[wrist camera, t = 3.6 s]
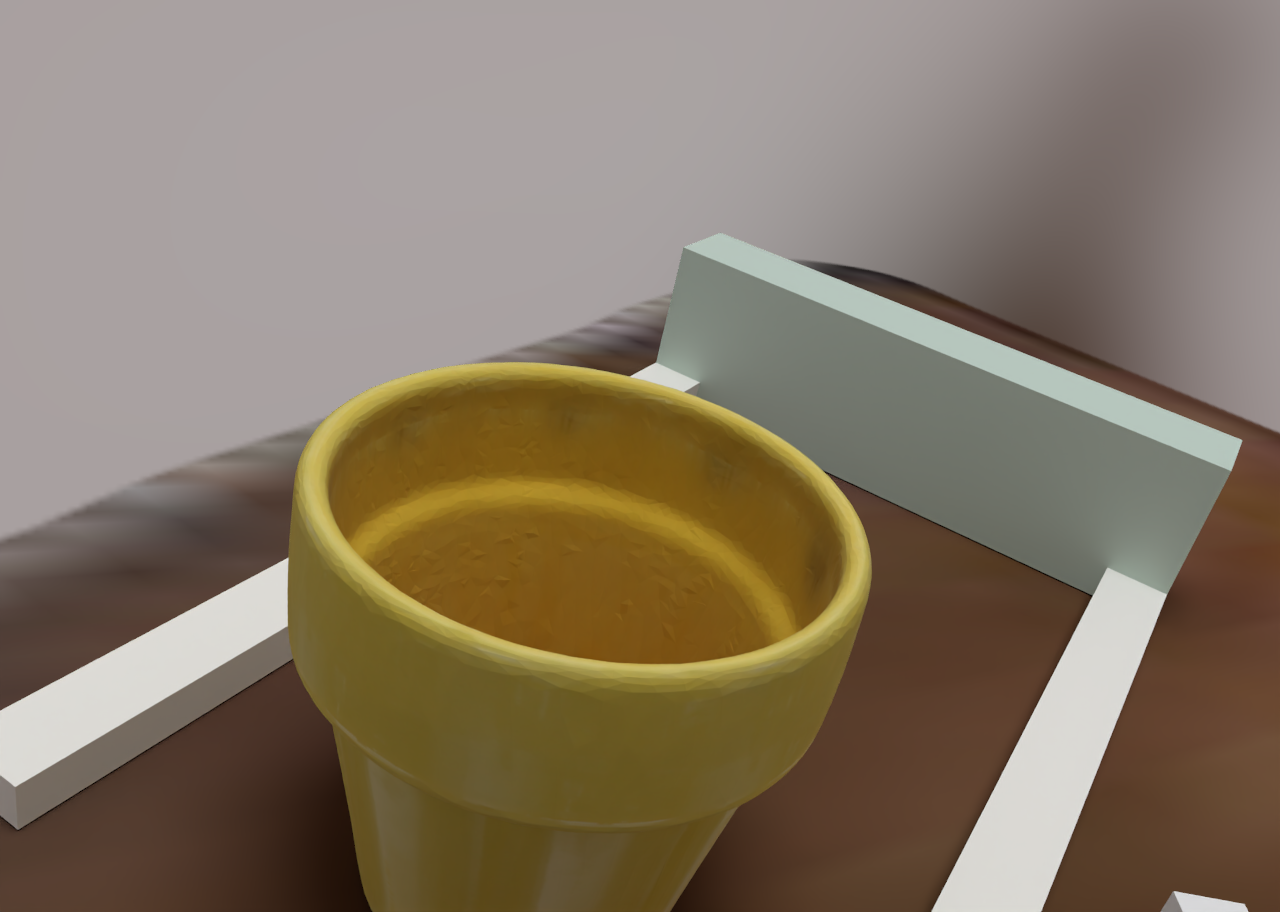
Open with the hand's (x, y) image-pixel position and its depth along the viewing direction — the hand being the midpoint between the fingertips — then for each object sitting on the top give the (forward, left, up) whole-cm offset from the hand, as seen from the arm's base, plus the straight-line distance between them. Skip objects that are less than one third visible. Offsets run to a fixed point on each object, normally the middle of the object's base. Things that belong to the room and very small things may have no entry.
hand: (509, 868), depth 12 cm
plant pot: (+8, -5, -11) cm, 15 cm away
